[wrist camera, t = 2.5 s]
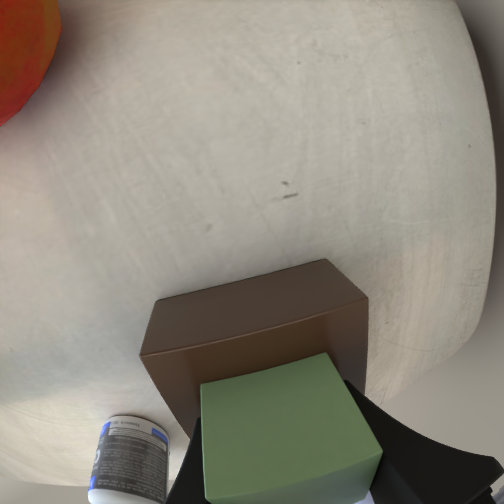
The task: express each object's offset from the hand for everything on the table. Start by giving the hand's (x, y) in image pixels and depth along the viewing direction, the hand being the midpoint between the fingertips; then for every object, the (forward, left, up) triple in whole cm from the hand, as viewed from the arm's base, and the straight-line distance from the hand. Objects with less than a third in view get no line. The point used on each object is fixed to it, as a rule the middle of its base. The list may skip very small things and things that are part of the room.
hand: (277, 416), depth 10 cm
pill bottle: (-6, +10, -5) cm, 12 cm away
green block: (0, 0, 0) cm, 0 cm away
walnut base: (0, 0, -4) cm, 4 cm away
